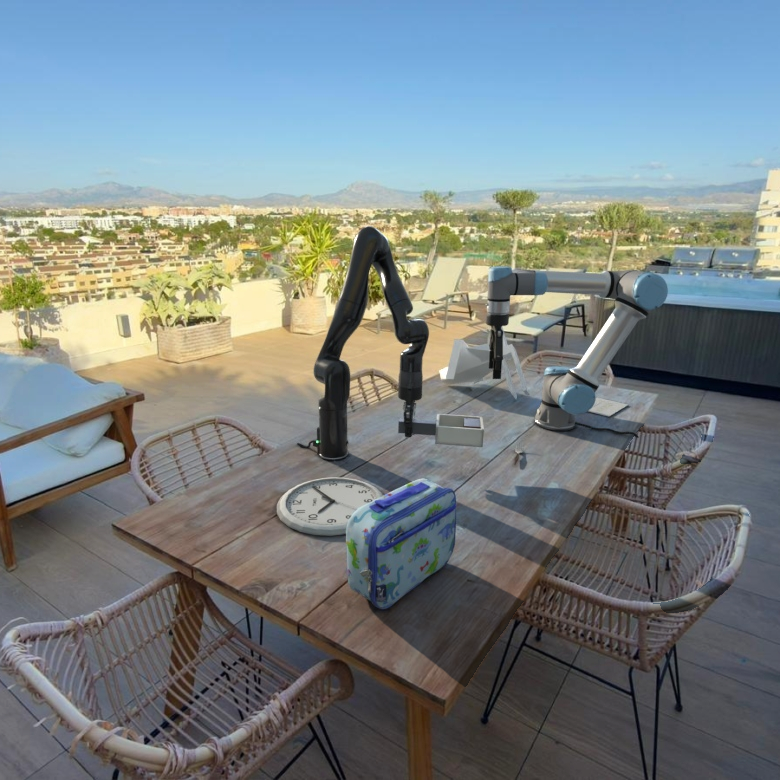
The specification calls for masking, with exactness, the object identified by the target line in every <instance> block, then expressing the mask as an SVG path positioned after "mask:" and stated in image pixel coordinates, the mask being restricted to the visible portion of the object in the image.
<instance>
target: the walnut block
mask: <svg viewBox="0 0 780 780" xmlns="http://www.w3.org/2000/svg"><path fill="white" fill-rule="evenodd" d="M463 428H476V429H481V426H480V419H468V418H464V426H463Z"/></svg>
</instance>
